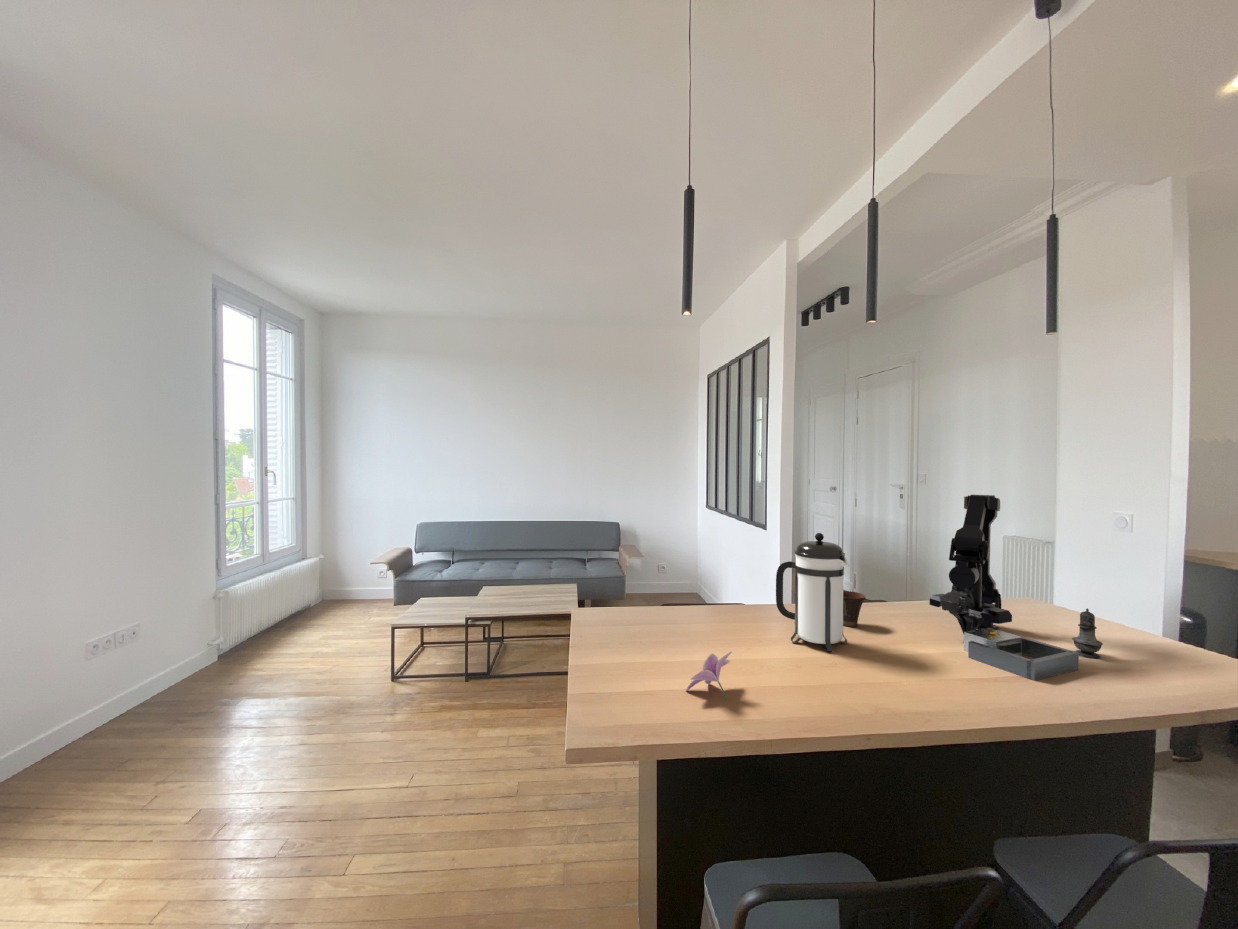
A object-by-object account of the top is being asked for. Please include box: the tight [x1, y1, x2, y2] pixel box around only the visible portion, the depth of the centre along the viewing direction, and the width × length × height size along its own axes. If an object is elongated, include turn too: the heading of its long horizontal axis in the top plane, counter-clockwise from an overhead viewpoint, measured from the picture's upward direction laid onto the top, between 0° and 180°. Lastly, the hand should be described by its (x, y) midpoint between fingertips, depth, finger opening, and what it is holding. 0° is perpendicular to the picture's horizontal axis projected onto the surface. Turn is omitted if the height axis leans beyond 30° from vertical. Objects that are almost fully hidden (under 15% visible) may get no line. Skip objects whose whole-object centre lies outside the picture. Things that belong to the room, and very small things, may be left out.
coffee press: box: [775, 532, 850, 653], centre depth 139 cm, size 17×16×30 cm
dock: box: [967, 633, 1080, 682], centre depth 125 cm, size 17×15×4 cm
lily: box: [685, 651, 733, 701], centre depth 107 cm, size 12×12×10 cm
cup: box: [843, 590, 866, 628], centre depth 154 cm, size 9×9×10 cm
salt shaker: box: [1071, 608, 1104, 660], centre depth 131 cm, size 6×6×12 cm
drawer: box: [963, 628, 1023, 657], centre depth 131 cm, size 10×9×6 cm
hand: (967, 639), depth 137 cm, fingers closed
